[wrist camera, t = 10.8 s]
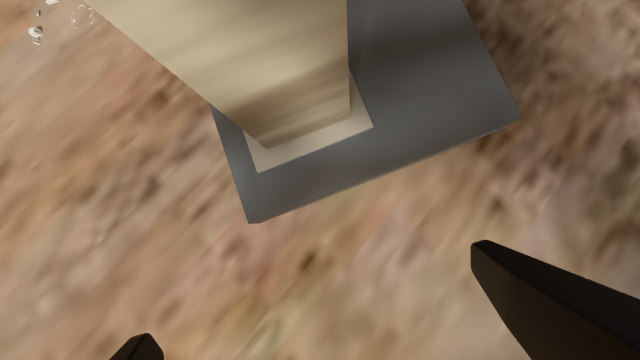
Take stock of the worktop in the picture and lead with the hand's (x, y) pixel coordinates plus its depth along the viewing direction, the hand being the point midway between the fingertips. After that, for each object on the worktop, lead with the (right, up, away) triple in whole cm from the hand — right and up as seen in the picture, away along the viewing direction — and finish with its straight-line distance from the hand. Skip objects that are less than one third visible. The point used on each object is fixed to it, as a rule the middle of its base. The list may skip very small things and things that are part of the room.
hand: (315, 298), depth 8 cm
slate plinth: (+2, +9, +11) cm, 14 cm away
